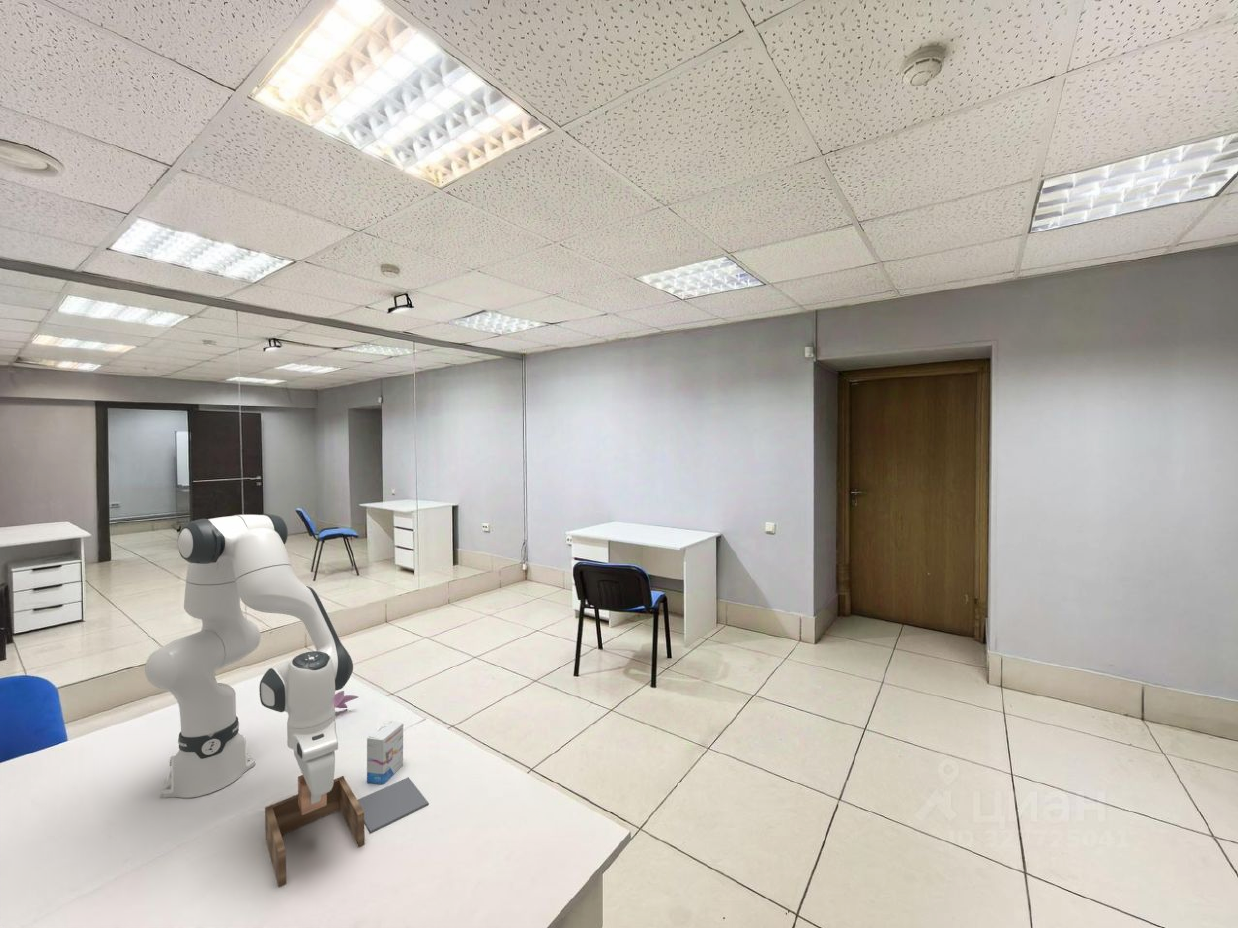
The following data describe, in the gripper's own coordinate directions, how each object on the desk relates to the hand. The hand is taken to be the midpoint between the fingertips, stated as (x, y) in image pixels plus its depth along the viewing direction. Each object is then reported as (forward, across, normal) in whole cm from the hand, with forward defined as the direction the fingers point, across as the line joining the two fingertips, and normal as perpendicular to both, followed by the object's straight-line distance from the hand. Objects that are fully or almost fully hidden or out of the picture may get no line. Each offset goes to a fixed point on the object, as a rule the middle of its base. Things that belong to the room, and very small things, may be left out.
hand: (312, 793), depth 107 cm
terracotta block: (+2, 0, 0) cm, 2 cm away
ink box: (+11, -14, +19) cm, 26 cm away
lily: (+12, -56, +17) cm, 59 cm away
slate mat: (+10, -1, +16) cm, 19 cm away
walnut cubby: (+11, 0, 0) cm, 11 cm away
